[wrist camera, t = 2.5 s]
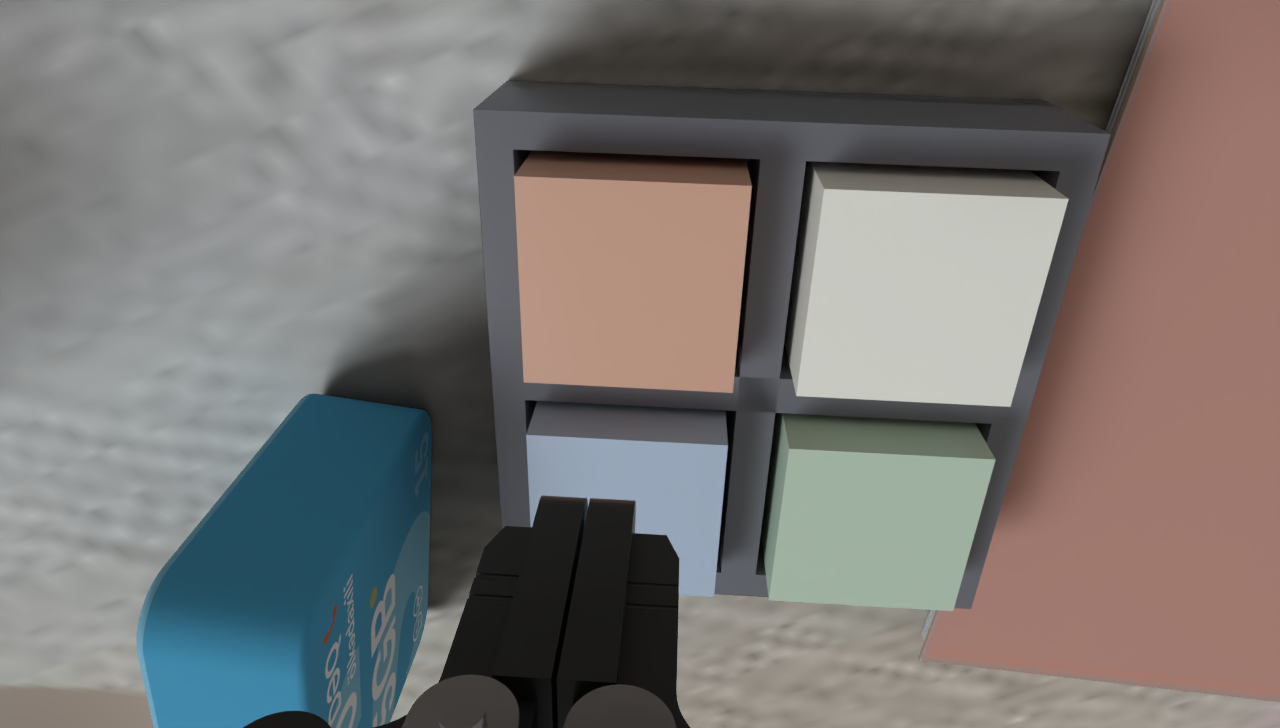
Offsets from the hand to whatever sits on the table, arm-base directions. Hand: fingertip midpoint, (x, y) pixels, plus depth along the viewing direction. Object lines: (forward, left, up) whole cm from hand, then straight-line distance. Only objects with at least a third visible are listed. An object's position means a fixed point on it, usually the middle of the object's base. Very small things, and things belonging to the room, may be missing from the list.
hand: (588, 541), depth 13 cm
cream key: (+8, 0, -14) cm, 16 cm away
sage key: (+8, -8, -14) cm, 18 cm away
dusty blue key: (0, -8, -14) cm, 16 cm away
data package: (-11, -13, -16) cm, 23 cm away
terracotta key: (0, 0, -14) cm, 14 cm away
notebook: (+22, -5, -17) cm, 28 cm away
